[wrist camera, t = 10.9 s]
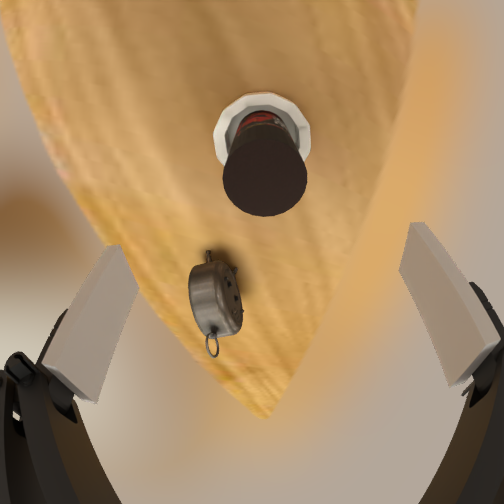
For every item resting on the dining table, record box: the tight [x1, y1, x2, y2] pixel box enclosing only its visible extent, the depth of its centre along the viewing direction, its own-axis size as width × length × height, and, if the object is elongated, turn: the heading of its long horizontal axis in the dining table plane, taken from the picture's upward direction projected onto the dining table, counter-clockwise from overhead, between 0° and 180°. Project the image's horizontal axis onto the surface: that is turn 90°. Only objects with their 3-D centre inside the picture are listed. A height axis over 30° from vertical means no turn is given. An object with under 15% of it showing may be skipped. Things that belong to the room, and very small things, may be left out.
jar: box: [213, 91, 311, 166], centre depth 30 cm, size 10×10×4 cm
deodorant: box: [223, 110, 307, 217], centre depth 25 cm, size 6×6×15 cm
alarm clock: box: [188, 250, 244, 358], centre depth 38 cm, size 11×5×16 cm, turn 16°
